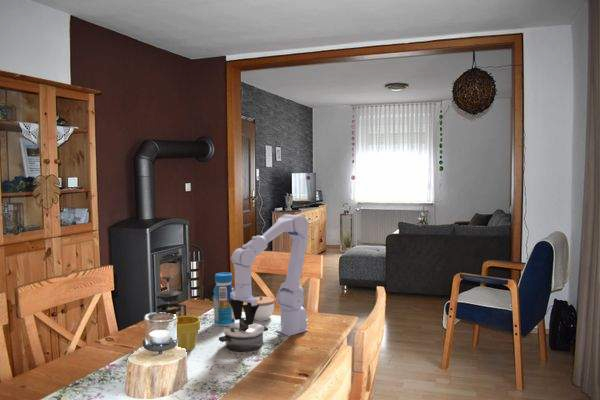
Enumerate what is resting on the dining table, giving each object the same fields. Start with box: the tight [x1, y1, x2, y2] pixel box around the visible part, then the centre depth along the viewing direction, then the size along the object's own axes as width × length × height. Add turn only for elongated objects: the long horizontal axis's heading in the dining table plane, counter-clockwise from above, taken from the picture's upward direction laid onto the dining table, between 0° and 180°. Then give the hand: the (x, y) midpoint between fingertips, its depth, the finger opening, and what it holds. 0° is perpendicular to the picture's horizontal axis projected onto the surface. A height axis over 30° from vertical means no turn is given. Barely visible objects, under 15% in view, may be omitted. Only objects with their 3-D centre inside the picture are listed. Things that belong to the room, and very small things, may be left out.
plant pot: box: [176, 315, 201, 351], centre depth 171 cm, size 10×10×10 cm
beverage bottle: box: [212, 271, 236, 327], centre depth 197 cm, size 8×8×20 cm
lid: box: [223, 317, 265, 338], centre depth 173 cm, size 14×14×4 cm
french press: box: [155, 275, 187, 317], centre depth 180 cm, size 12×9×23 cm
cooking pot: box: [218, 325, 269, 353], centre depth 173 cm, size 19×13×5 cm
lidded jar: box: [253, 295, 275, 322], centre depth 204 cm, size 11×11×9 cm
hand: (243, 321), depth 173 cm, fingers open, 7 cm apart
